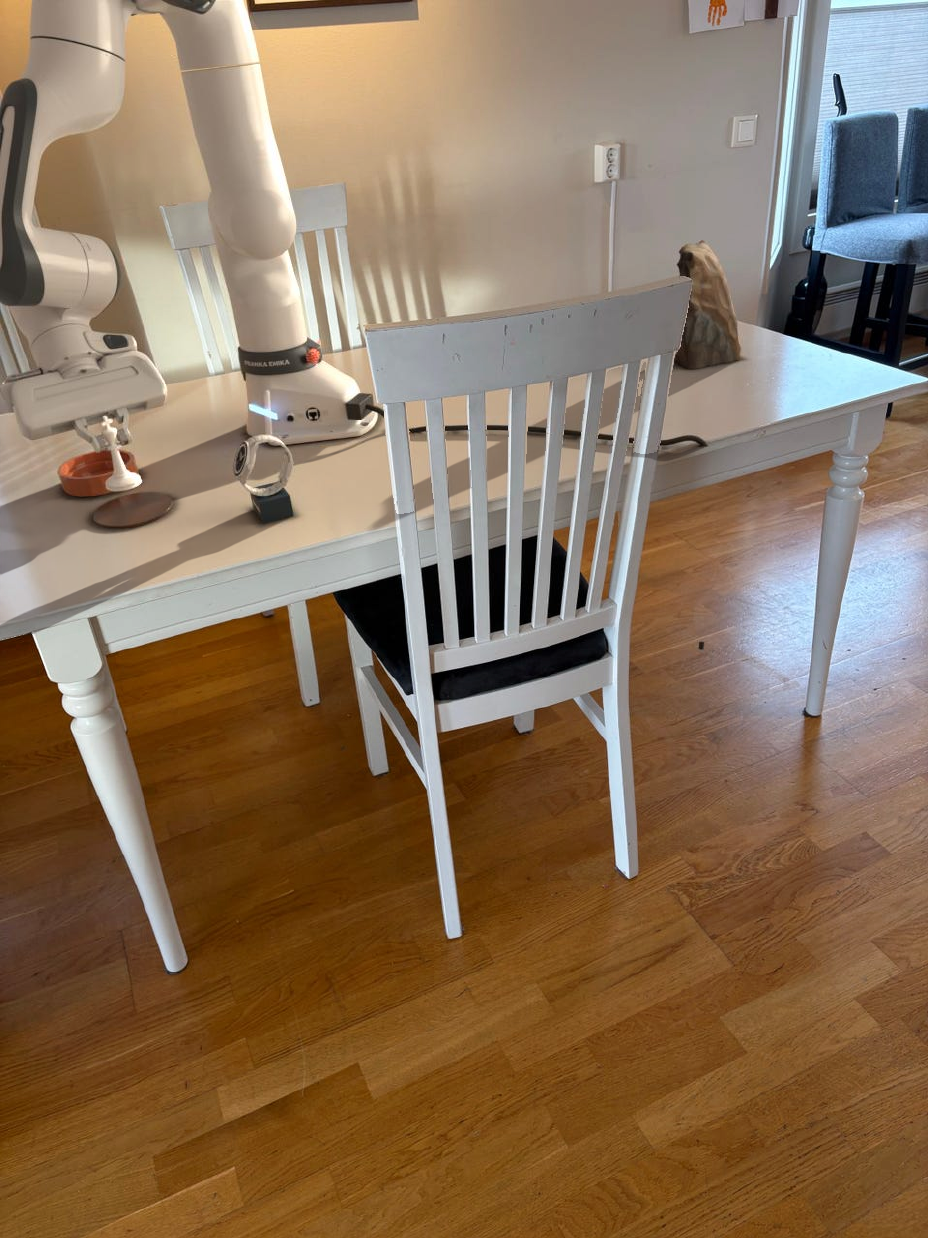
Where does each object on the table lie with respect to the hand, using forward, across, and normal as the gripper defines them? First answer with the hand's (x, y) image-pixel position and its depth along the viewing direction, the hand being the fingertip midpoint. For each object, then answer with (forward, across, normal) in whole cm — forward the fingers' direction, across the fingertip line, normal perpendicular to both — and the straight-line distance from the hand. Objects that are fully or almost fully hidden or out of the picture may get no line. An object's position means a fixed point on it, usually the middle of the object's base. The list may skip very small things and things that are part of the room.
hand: (114, 446), depth 124 cm
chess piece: (+4, 0, +5) cm, 6 cm away
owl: (+17, +106, -4) cm, 108 cm away
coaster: (+7, 0, +8) cm, 10 cm away
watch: (+18, +15, -3) cm, 23 cm away
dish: (-3, 0, +17) cm, 18 cm away
